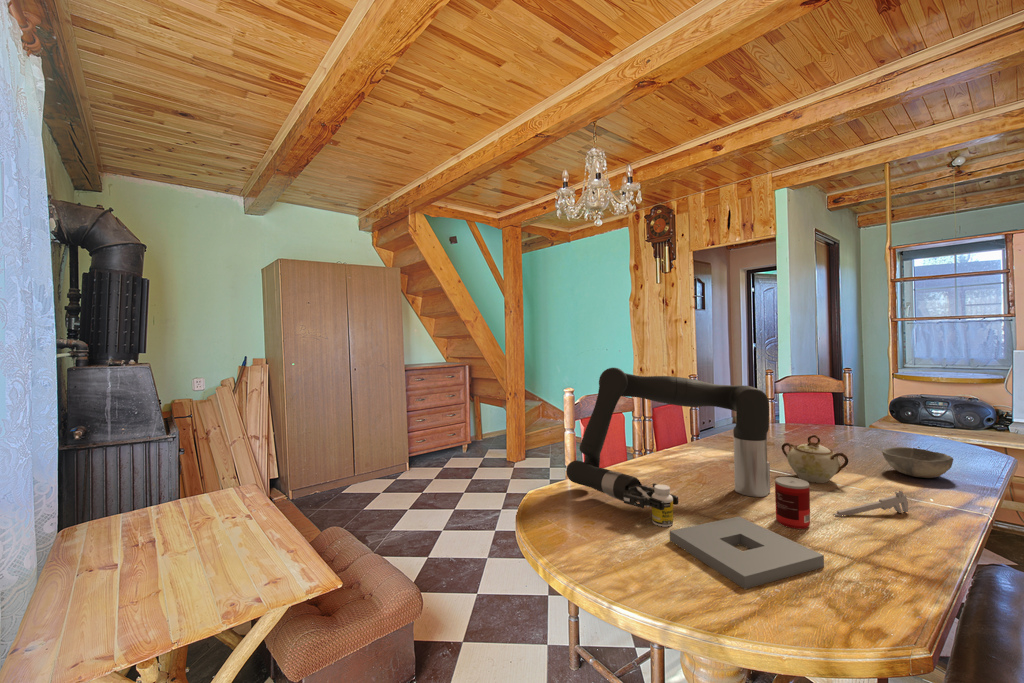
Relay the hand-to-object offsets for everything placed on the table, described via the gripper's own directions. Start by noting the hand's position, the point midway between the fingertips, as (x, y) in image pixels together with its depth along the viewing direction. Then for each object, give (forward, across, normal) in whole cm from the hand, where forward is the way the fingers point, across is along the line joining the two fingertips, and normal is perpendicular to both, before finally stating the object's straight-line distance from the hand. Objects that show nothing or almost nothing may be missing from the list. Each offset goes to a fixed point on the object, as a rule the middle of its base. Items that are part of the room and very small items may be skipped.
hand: (670, 503), depth 115 cm
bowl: (+26, +99, +6) cm, 102 cm away
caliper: (+28, +48, +6) cm, 56 cm away
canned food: (+18, +26, +6) cm, 33 cm away
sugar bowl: (+7, +69, +6) cm, 70 cm away
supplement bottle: (-3, 0, +6) cm, 7 cm away
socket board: (+18, +1, +6) cm, 19 cm away
